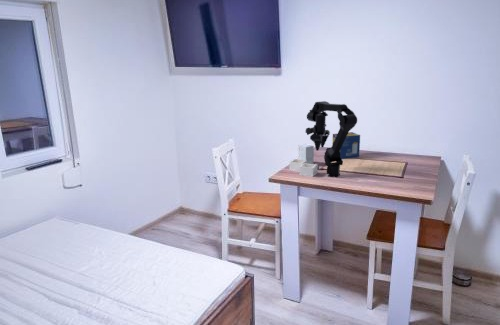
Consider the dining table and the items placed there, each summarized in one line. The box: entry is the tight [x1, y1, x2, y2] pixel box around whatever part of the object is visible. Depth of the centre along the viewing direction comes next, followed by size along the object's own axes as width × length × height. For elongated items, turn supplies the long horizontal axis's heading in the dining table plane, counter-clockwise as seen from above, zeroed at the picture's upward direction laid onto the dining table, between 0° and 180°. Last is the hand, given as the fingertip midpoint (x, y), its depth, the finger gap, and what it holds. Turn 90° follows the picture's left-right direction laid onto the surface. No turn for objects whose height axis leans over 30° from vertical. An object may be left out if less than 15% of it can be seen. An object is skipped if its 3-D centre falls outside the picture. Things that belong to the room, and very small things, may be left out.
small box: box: [297, 143, 315, 164], centre depth 234 cm, size 8×6×13 cm
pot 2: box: [298, 163, 318, 178], centre depth 214 cm, size 8×8×6 cm
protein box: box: [331, 131, 361, 160], centre depth 253 cm, size 10×15×16 cm
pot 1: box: [289, 158, 307, 172], centre depth 224 cm, size 8×8×6 cm
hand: (319, 148), depth 223 cm, fingers open, 9 cm apart
